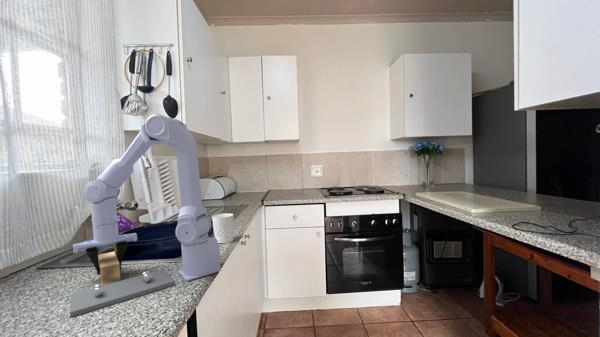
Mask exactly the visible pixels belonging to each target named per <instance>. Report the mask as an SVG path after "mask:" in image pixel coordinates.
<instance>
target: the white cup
mask: <svg viewBox="0 0 600 337" xmlns="http://www.w3.org/2000/svg"><path fill="white" fill-rule="evenodd" d="M211 219H212V228H213V233H214V234H213V235H214V236H213V237H215V238H216V239H217V241H218V243H222V244H221V245H223V243H224V244H229V243H231V242H233V241H234V232H235V231H234V230H235V228H234V226H235V224H234V213H226V212H225V213H219V214H218V213H217V214H214V215H211Z"/></svg>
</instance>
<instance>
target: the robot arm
mask: <svg viewBox="0 0 600 337" xmlns="http://www.w3.org/2000/svg"><path fill="white" fill-rule="evenodd" d="M187 126H188V125H187V124H185V123H184V122H182V121H181V120H180V119H178V118H172V117H168V116H165V115H163V114H159V113H155V114H151V115H150V116H149V117H147V118H146V120H145V122H143V123H142V124H141V125H140V129H139V133H138V134H137V135H136V136H135V138H134V139H133V141H132V143H130V145H129V146H128V147H127V149H126V151H125V152H124V153H123V155H122V156H121V157H120V158H115V159H112V160H109V161H108V163H107V167H106V168H105V169H104V170H103V172H102V173H101V174H99V175H97V178H96V179H95V180H91V181H89V182H87V183H86V185H85V187H84V189H83V195H84V197H85V199H86V200H87V201H88V202H90V211H91V212H90V213H91V221H92V223H91V224H92V234H93V235H92V236H93V239H91V240H86V241H82V242H80V243H79V242H78V243H74V244H72V250H73V254H75V253H77V254H78V253H79V252H83V251H85V252H86V255H87V257H88V258H89V260H91V261H90V262H92V264H93V266H94V268H95V270H96V274H97V276H100V275H101V274H100V266H99V258H98V255H99V250H98V248H103V247H107V246H114V244H116V252H117V253H116V257H117V259H118V261H119V265H120V271H121V268H122V262H123V259H124V255H125V252H126V250H127V248H128V242H136V241H138V236H137V235H138V234H137V233H136V232H134V233H127V234H120V235H118V222H117V212H118V211H117V204H118V197H119V196H120V194H121V187H122V186H123V185H124V183H126V181H127V180H128V179H129V178H130V176H132V175H133V173H134V171H135V170H134V165H135V164H136V163H137V161H139V159H140V158H142V156H144V155H145V153H146V152H147V151H148V150H149V149H150V148H151V147H152V146H155V145H159V144H163V143H165V144H167V145H168V146H170V147H172V148H173V149H174V150H175V155H176V158H175V159H176V165H177V166H176V168H177V177H178V188H179V200H180V210H179V213H178V215H177V225H176V228H175V231H174V232H175V233H174V234H175V238H176V239H177V241H179V242H180V247H181V261H182V262H181V263H182V269H180V270H179V271H178V273H179V275H180V276H181V277H182V278H184V280H185V281H187V282H188V281H192V280H195V279H197V278H198V279H199V278H201V277H205V276H208V275H212V274H215V273H218V272H221V271H222V268H221V256H220V245H219V244H218V241H217V239H216V238H215V236H213V237H211V236H210V237H209V232H210V231H211V228H212V222H211V218H210V217H209V216H208V212H207V211H208V210H207V208H206V207H205V206H204V205H203V202H202V191H201V190H202V189H201V177H200V169H199V168H200V167H199V157H198V149H197V148H198V146H197V142H196V139H195V138H194V137H193V135H192V133H191V132H190V131H189V129H188V127H187Z"/></svg>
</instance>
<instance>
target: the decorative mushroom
mask: <svg viewBox="0 0 600 337" xmlns="http://www.w3.org/2000/svg"><path fill="white" fill-rule="evenodd" d="M117 222H118V235H121V233H124V232H126V231H131V230H133V229H135V228H136V227H137V225H136V224H135V223H134V222H133V221H132V220H131V219H129V218H128V217H126V216H124V215H122V214H121V213H119V212H118V211H117ZM113 248H114V251H113V252H115V254H117V252H116V244H114V245H113Z"/></svg>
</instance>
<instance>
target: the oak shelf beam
mask: <svg viewBox="0 0 600 337" xmlns="http://www.w3.org/2000/svg"><path fill="white" fill-rule="evenodd" d="M98 258H99V266H100V274H101V275H99V276H100V283H102V286H103V285H106V284H110V283H114V282H118V281H121V270H120V265H119V261H118V259H117V253H115V252H114V251H110V252H105V253H100V254H98Z"/></svg>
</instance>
